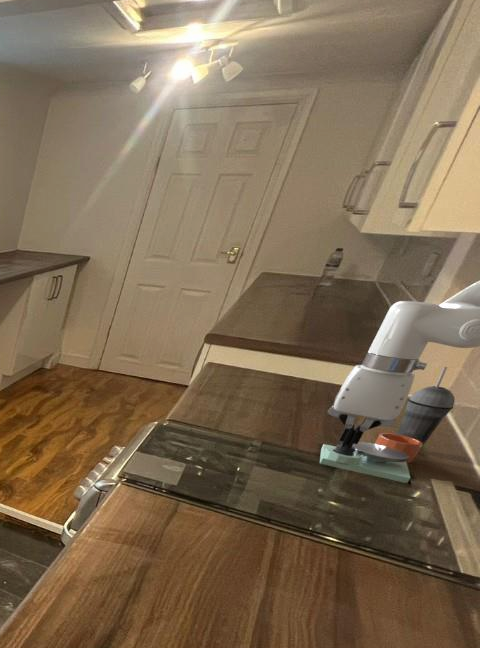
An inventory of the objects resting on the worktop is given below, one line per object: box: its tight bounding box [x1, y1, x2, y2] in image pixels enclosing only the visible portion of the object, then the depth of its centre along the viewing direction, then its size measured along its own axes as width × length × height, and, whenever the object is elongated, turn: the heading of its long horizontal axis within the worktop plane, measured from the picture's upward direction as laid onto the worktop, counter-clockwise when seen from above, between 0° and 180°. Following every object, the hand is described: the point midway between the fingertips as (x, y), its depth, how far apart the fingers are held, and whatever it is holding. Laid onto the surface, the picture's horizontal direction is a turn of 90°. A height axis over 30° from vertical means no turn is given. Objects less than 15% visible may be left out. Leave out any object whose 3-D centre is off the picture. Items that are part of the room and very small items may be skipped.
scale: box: [319, 443, 411, 484], centre depth 129 cm, size 14×12×3 cm
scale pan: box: [352, 441, 409, 464], centre depth 129 cm, size 10×10×4 cm
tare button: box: [334, 443, 356, 456], centre depth 128 cm, size 3×3×2 cm
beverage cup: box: [396, 366, 455, 450], centre depth 135 cm, size 7×7×20 cm
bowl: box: [373, 432, 423, 464], centre depth 132 cm, size 7×7×5 cm
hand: (346, 445), depth 128 cm, fingers closed
